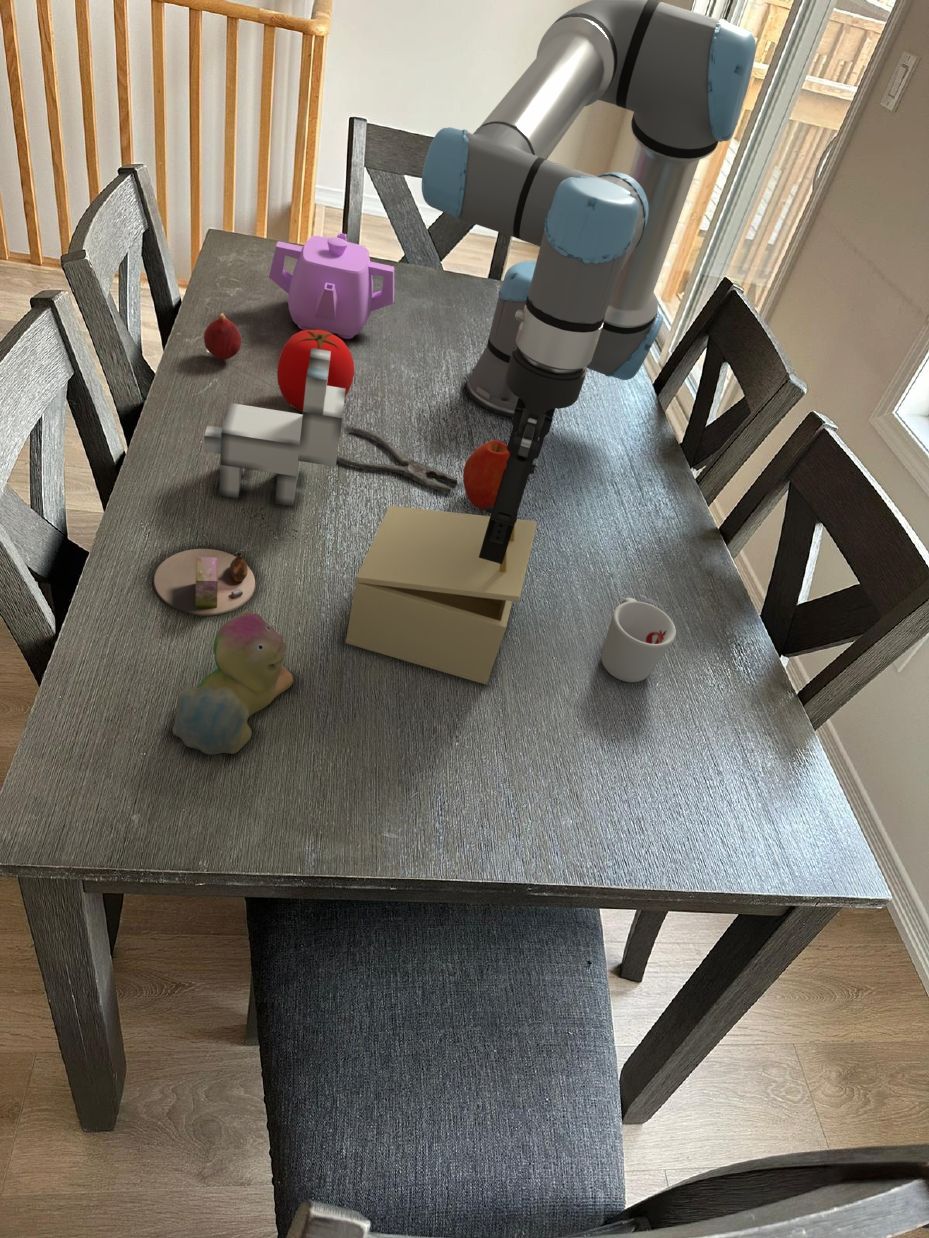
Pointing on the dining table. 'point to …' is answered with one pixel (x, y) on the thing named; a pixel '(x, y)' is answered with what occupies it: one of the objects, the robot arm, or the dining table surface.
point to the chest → (429, 628)
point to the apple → (485, 473)
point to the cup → (636, 640)
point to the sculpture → (233, 686)
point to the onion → (222, 338)
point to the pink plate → (204, 582)
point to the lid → (445, 554)
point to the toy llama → (280, 435)
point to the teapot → (331, 284)
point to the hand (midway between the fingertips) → (496, 538)
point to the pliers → (410, 469)
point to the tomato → (297, 363)
